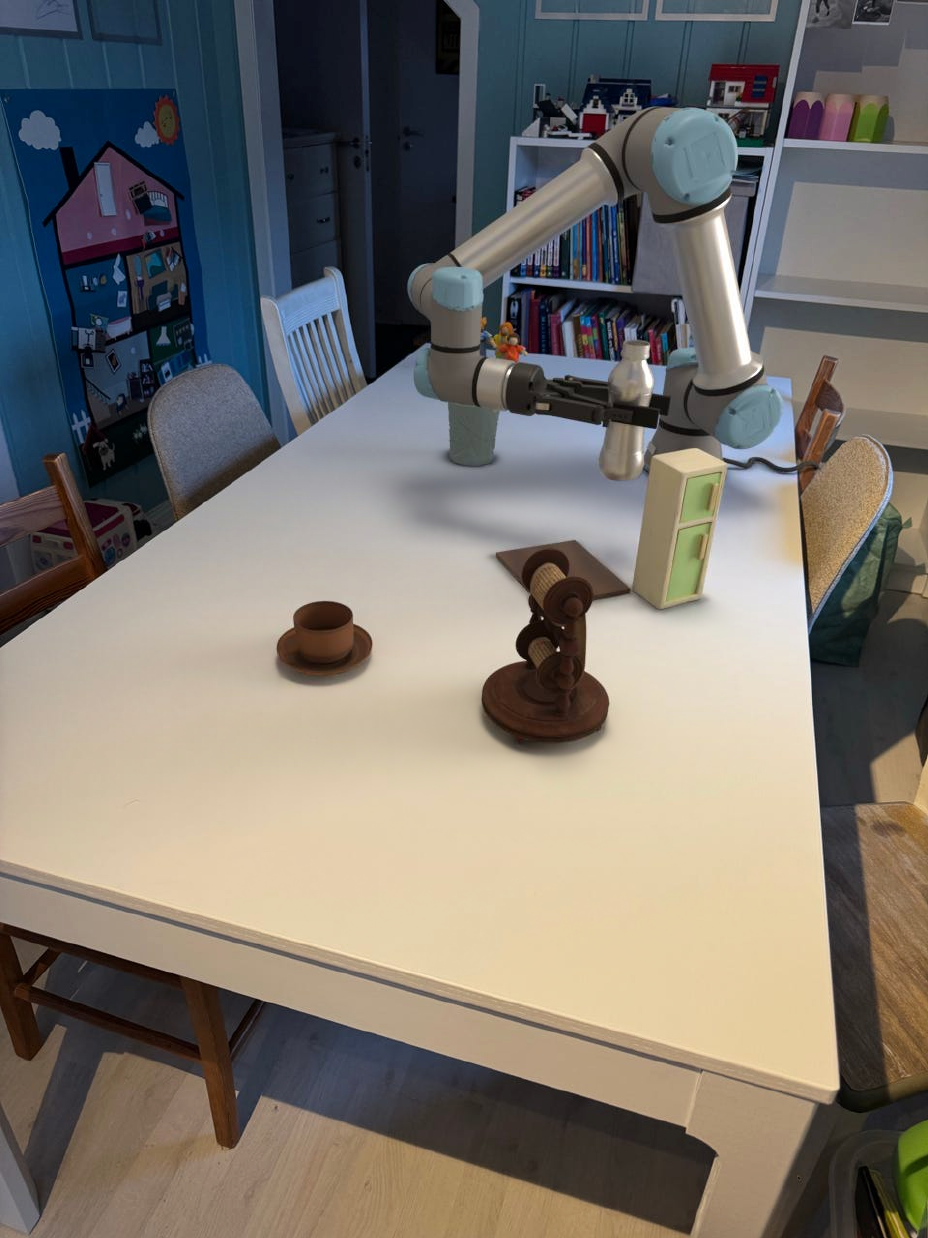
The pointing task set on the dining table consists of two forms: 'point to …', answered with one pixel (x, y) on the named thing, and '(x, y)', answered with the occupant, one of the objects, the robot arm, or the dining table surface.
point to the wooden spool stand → (549, 661)
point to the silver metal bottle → (632, 387)
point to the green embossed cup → (471, 434)
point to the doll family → (502, 343)
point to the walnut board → (579, 564)
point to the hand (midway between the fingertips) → (663, 412)
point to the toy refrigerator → (678, 526)
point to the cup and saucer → (324, 640)
